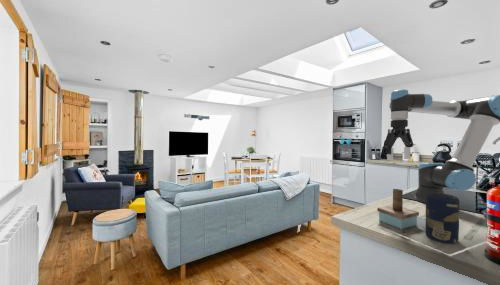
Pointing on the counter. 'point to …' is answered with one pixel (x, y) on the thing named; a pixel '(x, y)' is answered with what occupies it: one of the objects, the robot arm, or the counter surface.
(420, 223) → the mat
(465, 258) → the counter surface
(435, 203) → the canister
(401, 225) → the dish
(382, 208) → the lid
